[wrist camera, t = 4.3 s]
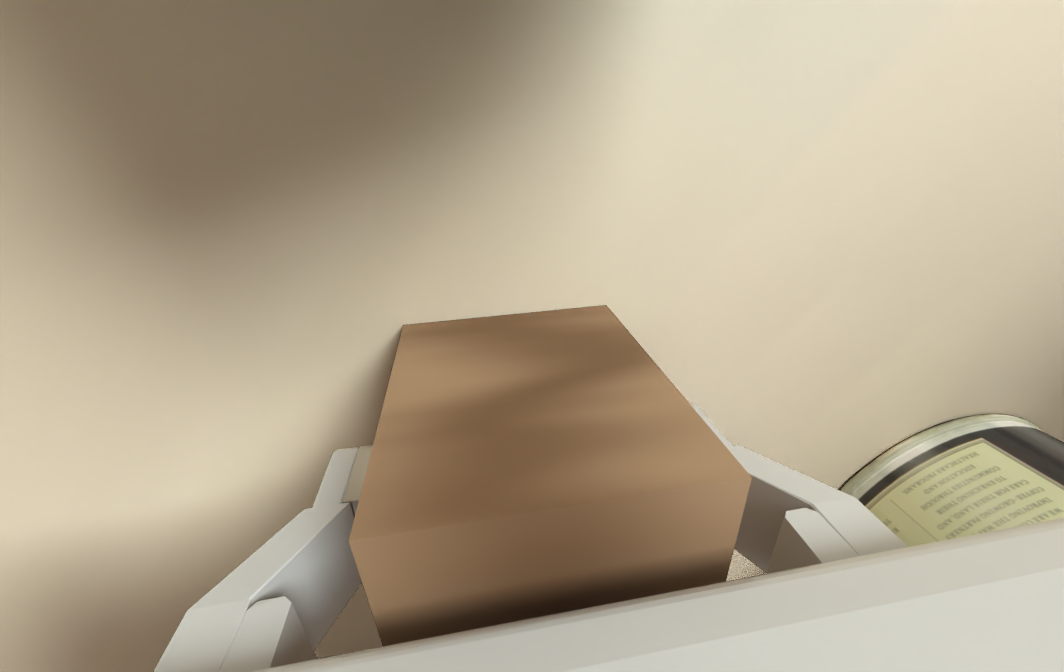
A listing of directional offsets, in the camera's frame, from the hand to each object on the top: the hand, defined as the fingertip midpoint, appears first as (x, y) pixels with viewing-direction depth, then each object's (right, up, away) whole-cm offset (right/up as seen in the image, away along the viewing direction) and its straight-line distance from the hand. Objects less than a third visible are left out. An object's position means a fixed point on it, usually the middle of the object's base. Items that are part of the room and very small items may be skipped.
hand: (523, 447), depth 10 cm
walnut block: (0, +1, +2) cm, 2 cm away
